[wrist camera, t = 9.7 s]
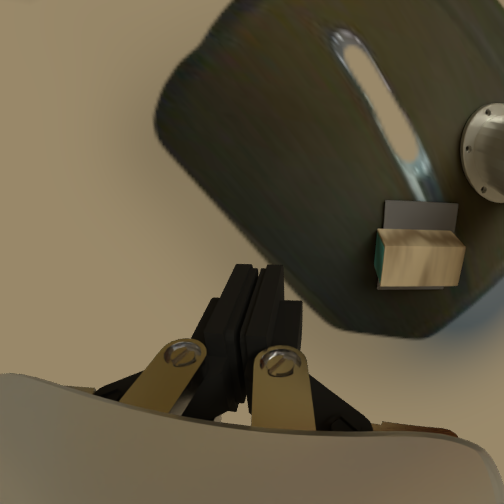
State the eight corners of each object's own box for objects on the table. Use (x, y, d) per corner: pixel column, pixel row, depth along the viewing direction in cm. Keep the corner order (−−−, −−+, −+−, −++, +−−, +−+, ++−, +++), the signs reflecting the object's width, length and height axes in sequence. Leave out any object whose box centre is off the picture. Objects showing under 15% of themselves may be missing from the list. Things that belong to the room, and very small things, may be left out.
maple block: (376, 228, 37) (450, 230, 35) (373, 265, 39) (444, 266, 37) (384, 245, 33) (465, 247, 31) (379, 286, 35) (457, 285, 33)
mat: (457, 203, 34) (458, 204, 33) (442, 287, 39) (443, 289, 38) (385, 200, 36) (385, 200, 35) (376, 288, 41) (377, 289, 40)
